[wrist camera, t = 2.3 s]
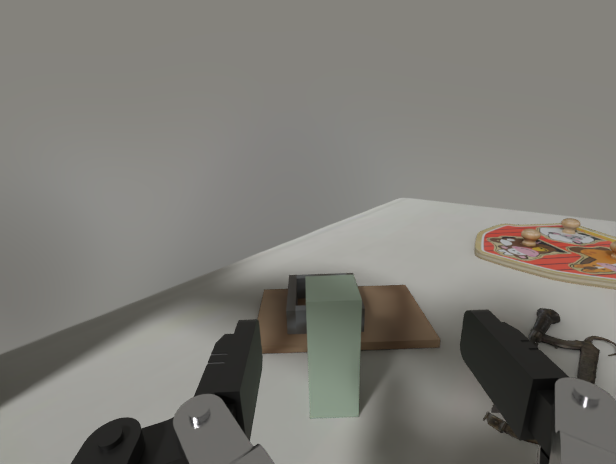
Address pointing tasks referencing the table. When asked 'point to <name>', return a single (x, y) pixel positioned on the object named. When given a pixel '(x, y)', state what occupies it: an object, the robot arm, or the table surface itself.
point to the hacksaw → (538, 334)
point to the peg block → (333, 345)
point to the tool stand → (374, 322)
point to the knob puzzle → (552, 251)
